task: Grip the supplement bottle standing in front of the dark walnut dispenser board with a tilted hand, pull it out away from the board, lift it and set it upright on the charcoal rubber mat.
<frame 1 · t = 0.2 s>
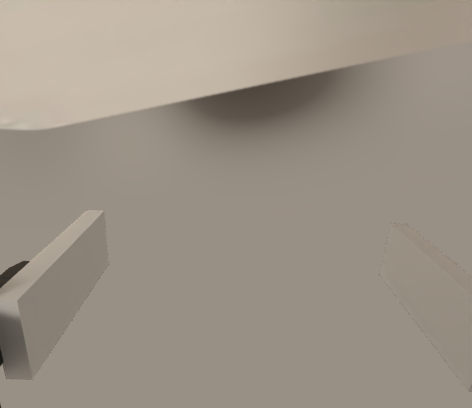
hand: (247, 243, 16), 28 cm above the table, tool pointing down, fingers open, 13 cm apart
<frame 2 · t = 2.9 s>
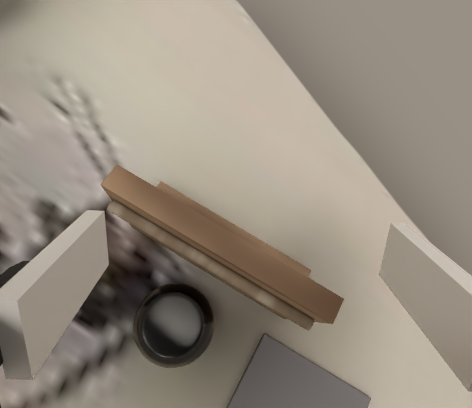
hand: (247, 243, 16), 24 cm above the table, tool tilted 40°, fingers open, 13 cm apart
supplement bottle: (178, 321, 37), on the table
dispenser board: (211, 264, 39), on the table
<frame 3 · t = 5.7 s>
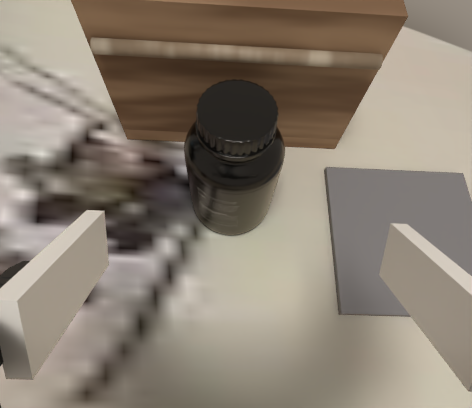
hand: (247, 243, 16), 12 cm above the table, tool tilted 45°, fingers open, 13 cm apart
supplement bottle: (230, 201, 30), on the table
dispenser board: (232, 135, 33), on the table
rubber mat: (405, 238, 29), on the table
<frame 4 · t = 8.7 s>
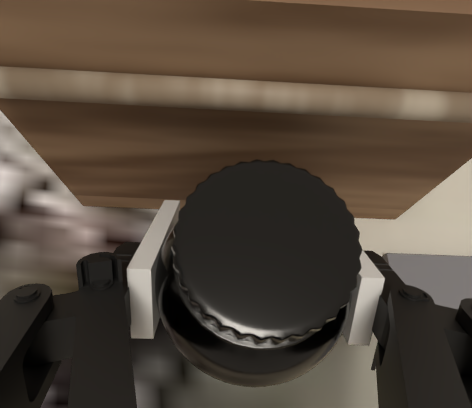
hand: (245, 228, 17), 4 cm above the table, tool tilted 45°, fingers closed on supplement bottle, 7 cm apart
supplement bottle: (239, 311, 19), on the table, touching gripper
dispenser board: (241, 198, 22), on the table
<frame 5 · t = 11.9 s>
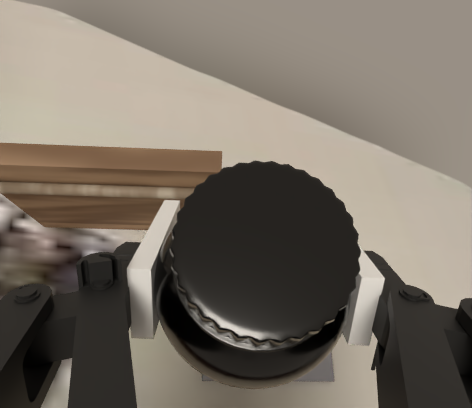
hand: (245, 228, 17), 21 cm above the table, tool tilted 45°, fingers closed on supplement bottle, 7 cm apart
supplement bottle: (239, 312, 19), point 18 cm above the table, touching gripper
dispenser board: (134, 221, 40), on the table
rubber mat: (266, 312, 36), on the table
when the fingers open (6 cm above the table, at t = 15.4 s): supplement bottle drops 1 cm, resting on rubber mat.
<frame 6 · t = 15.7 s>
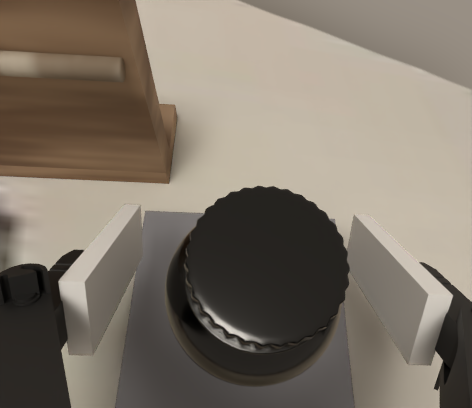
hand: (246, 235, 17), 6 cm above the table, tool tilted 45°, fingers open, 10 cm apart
supplement bottle: (238, 315, 21), resting on rubber mat
dispenser board: (32, 165, 25), on the table
rubber mat: (238, 315, 21), on the table
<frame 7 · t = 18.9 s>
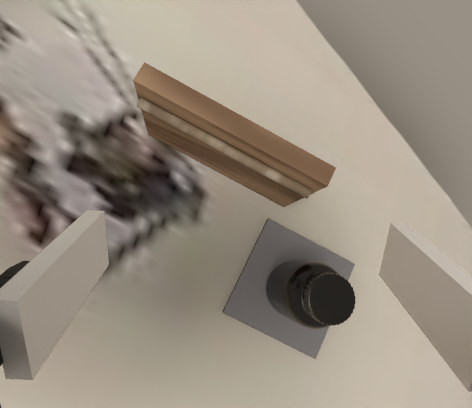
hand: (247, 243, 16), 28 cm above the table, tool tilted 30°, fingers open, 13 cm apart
supplement bottle: (290, 287, 43), resting on rubber mat
dispenser board: (220, 164, 45), on the table
rubber mat: (290, 287, 44), on the table
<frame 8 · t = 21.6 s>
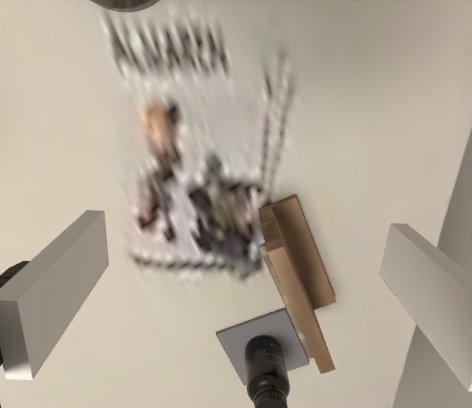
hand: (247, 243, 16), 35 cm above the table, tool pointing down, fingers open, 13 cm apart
supplement bottle: (263, 348, 61), resting on rubber mat
dispenser board: (286, 259, 55), on the table
rubber mat: (263, 347, 61), on the table
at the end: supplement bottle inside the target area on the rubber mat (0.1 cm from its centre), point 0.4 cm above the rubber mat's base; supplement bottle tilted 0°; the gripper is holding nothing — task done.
